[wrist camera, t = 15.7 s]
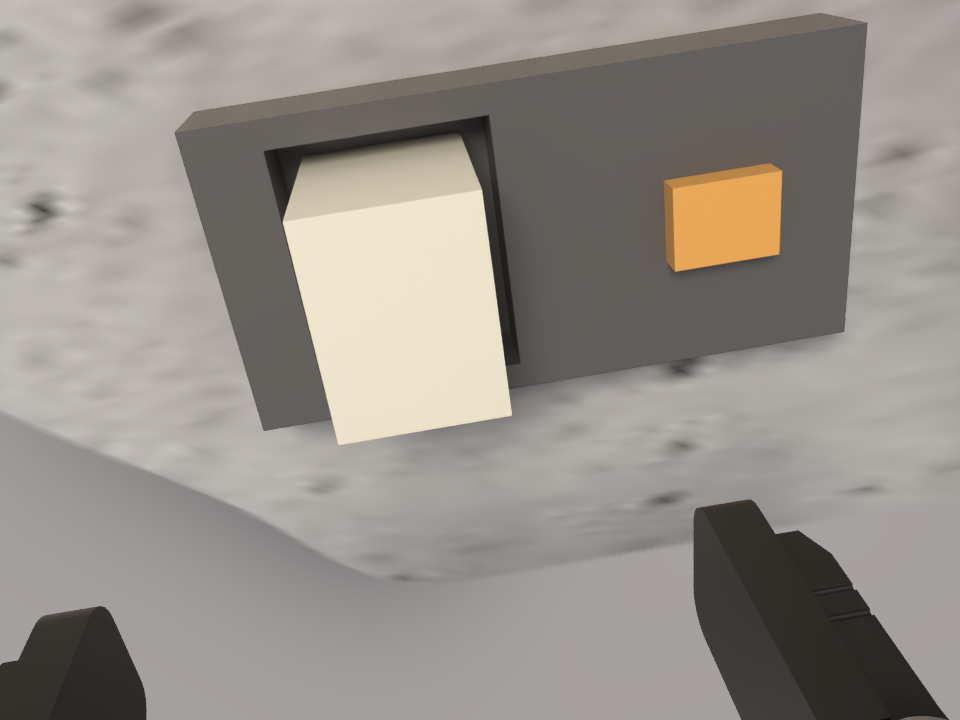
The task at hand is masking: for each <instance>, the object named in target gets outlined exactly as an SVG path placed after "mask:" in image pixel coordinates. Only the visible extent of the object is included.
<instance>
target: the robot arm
mask: <svg viewBox="0 0 960 720" xmlns="http://www.w3.org/2000/svg"><path fill="white" fill-rule="evenodd" d="M694 598H695V605H696V610H697V615H698V619H699V623H700V626H701V629H702V632H703V635H704V637H705V639H706V642H707V644H708V646H709V648H710V651H711V653H712V655H713V657H714V660H715V662H716V664H717V666H718V668H719V671H720V673H721V675H722V677H723V680H724V682H725V684H726V686H727V689H728V691H729V693H730V695H731V697H732V700H733V702H734V704H735V706H736V709H737V711H738V713H739V715H740V718H741V720H949V719H948V718H947V717H946V716H945V714H944V713H943V712H942V711H941V710H940V708H939V707H938V705H937V704H936V702H935V701H934V700H933V698H932V697H931V695H930V694H929V692H928V691H927V690H926V688H925V687H924V685H923V684H922V683H921V681H920V680H919V678H918V677H917V675H916V674H915V673H914V671H913V670H912V668H911V667H910V665H909V664H908V663H907V661H906V660H905V658H904V657H903V655H902V654H901V653H900V651H899V650H898V648H897V647H896V645H895V644H894V643H893V641H892V640H891V638H890V637H889V635H888V634H887V633H886V631H885V630H884V628H883V627H882V625H881V624H880V622H879V621H878V620H877V618H876V617H875V615H871V613H870V608H869V607H868V606H867V604H866V603H865V601H864V600H863V598H862V597H861V595H860V594H859V592H858V591H857V590H854V589H853V586H852V583H851V581H850V580H849V578H848V577H847V575H846V574H845V572H844V571H843V570H842V568H841V567H840V566H839V564H838V562H837V561H836V560H835V558H834V557H833V555H832V554H831V553H830V552H828V551H827V550H825V549H824V548H822V547H821V546H820V545H818V544H817V543H815V542H814V541H812V540H811V539H810V538H808V537H806V536H805V535H804V534H802V533H801V532H800V531H792V532H786V533H780V534H775V533H774V531H773V530H772V528H771V527H770V525H769V523H768V522H767V520H766V519H765V517H764V515H763V514H762V512H761V511H760V509H759V508H758V506H757V505H756V504H755V503H754V502H753V501H752V500H749V499H748V500H742V501H736V502H731V503H725V504H719V505H713V506H707V507H701V508H697V509H696V510H695V513H694ZM0 720H146V698H145V692H144V688H143V684H142V682H141V679H140V677H139V675H138V673H137V670H136V668H135V666H134V664H133V662H132V659H131V657H130V655H129V653H128V650H127V648H126V646H125V644H124V642H123V639H122V637H121V635H120V633H119V631H118V628H117V626H116V624H115V622H114V619H113V618H112V616H111V614H110V612H109V611H108V610H107V609H106V608H105V607H102V606H98V607H92V608H87V609H80V610H75V611H69V612H63V613H57V614H51V615H46V616H43V617H41V618H40V619H39V620H38V621H37V623H36V624H35V626H34V628H33V630H32V632H31V634H30V637H29V639H28V641H27V643H26V645H25V647H24V649H23V651H22V653H21V656H20V658H19V660H18V661H12V662H6V663H2V664H1V665H0Z"/></svg>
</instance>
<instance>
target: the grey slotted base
mask: <svg viewBox="0 0 960 720" xmlns="http://www.w3.org/2000/svg"><path fill="white" fill-rule="evenodd" d="M866 35H867V23H866V22H861V21H856V20H851V19H847V18H842V17H837V16H832V15H828V14H823V13H819V14H812V15H806V16H800V17H793V18H787V19H781V20H774V21H768V22H762V23H755V24H749V25H743V26H736V27H730V28H724V29H717V30H711V31H705V32H698V33H692V34H686V35H679V36H673V37H666V38H660V39H654V40H647V41H641V42H635V43H628V44H622V45H616V46H609V47H603V48H597V49H590V50H584V51H578V52H571V53H565V54H559V55H552V56H546V57H540V58H533V59H527V60H521V61H514V62H508V63H501V64H495V65H489V66H482V67H476V68H470V69H463V70H457V71H451V72H444V73H438V74H432V75H425V76H419V77H413V78H406V79H400V80H394V81H387V82H381V83H375V84H368V85H362V86H356V87H349V88H343V89H336V90H330V91H324V92H317V93H311V94H305V95H298V96H292V97H286V98H279V99H273V100H267V101H260V102H254V103H248V104H241V105H235V106H229V107H222V108H216V109H210V110H203V111H197V112H193V113H192V115H191V116H190V117H189V118H188V119H187V120H186V121H185V122H184V123H183V124H182V125H181V126H180V127H179V128H178V129H177V130H176V131H175V136H176V139H177V143H178V146H179V149H180V153H181V156H182V159H183V163H184V166H185V169H186V173H187V176H188V179H189V183H190V186H191V189H192V193H193V196H194V199H195V203H196V206H197V209H198V213H199V216H200V219H201V223H202V226H203V229H204V233H205V236H206V239H207V243H208V246H209V249H210V253H211V256H212V259H213V263H214V266H215V269H216V273H217V276H218V279H219V283H220V286H221V290H222V293H223V296H224V300H225V303H226V306H227V310H228V313H229V316H230V320H231V323H232V326H233V330H234V333H235V336H236V340H237V343H238V346H239V350H240V353H241V356H242V360H243V363H244V366H245V370H246V373H247V376H248V380H249V383H250V386H251V390H252V393H253V396H254V400H255V403H256V406H257V410H258V413H259V416H260V420H261V423H262V426H263V430H264V431H266V430H272V429H278V428H284V427H290V426H296V425H301V424H307V423H313V422H319V421H325V420H331V419H332V417H331V413H330V409H329V405H328V401H327V397H326V393H325V389H324V385H323V381H322V377H321V373H320V369H319V365H318V361H317V357H316V353H315V349H314V345H313V341H312V337H311V333H310V329H309V325H308V321H307V317H306V313H305V309H304V305H303V301H302V297H301V293H300V289H299V285H298V281H297V277H296V273H295V269H294V265H293V261H292V257H291V253H290V249H289V245H288V241H287V237H286V233H285V229H284V225H283V219H284V216H285V212H286V209H287V206H288V203H289V200H290V196H291V193H292V190H293V187H294V183H295V180H296V177H297V174H298V170H299V167H300V164H301V161H302V157H303V156H305V155H311V154H317V153H324V152H330V151H336V150H343V149H349V148H355V147H362V146H368V145H374V144H381V143H387V142H393V141H400V140H406V139H412V138H419V137H425V136H431V135H438V134H444V133H450V132H457V131H459V132H460V135H461V137H462V140H463V143H464V145H465V148H466V150H467V153H468V155H469V158H470V160H471V163H472V166H473V168H474V171H475V173H476V176H477V178H478V181H479V183H480V186H481V189H482V194H483V201H484V209H485V216H486V224H487V231H488V239H489V246H490V254H491V261H492V269H493V276H494V284H495V291H496V299H497V306H498V314H499V321H500V329H501V336H502V344H503V351H504V359H505V366H506V374H507V381H508V389H512V388H518V387H524V386H530V385H536V384H542V383H547V382H553V381H559V380H565V379H571V378H577V377H583V376H588V375H594V374H600V373H606V372H612V371H618V370H624V369H630V368H635V367H641V366H647V365H653V364H659V363H665V362H671V361H676V360H682V359H688V358H694V357H700V356H706V355H712V354H717V353H723V352H729V351H735V350H741V349H747V348H753V347H758V346H764V345H770V344H776V343H782V342H788V341H794V340H799V339H805V338H811V337H817V336H823V335H829V334H835V333H840V332H844V327H845V313H846V300H847V287H848V274H849V260H850V247H851V234H852V220H853V207H854V194H855V181H856V167H857V154H858V141H859V127H860V114H861V101H862V88H863V74H864V61H865V48H866Z"/></svg>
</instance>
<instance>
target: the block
mask: <svg viewBox="0 0 960 720" xmlns="http://www.w3.org/2000/svg"><path fill="white" fill-rule="evenodd" d="M283 225H284V229H285V233H286V237H287V241H288V245H289V249H290V253H291V257H292V261H293V265H294V269H295V273H296V277H297V281H298V285H299V289H300V293H301V297H302V301H303V305H304V309H305V313H306V317H307V321H308V325H309V329H310V333H311V337H312V341H313V345H314V349H315V353H316V357H317V361H318V365H319V369H320V373H321V377H322V381H323V385H324V389H325V393H326V397H327V401H328V405H329V409H330V413H331V417H332V421H333V425H334V429H335V433H336V437H337V441H338V445H342V444H348V443H354V442H360V441H366V440H372V439H378V438H384V437H389V436H395V435H401V434H407V433H413V432H419V431H425V430H431V429H436V428H442V427H448V426H454V425H460V424H466V423H472V422H478V421H484V420H489V419H495V418H501V417H507V416H512V411H511V404H510V396H509V389H508V381H507V374H506V366H505V359H504V351H503V344H502V336H501V329H500V321H499V314H498V306H497V299H496V291H495V284H494V276H493V269H492V261H491V254H490V246H489V239H488V231H487V224H486V216H485V209H484V201H483V194H482V189H481V186H480V183H479V181H478V178H477V176H476V173H475V171H474V168H473V166H472V163H471V160H470V158H469V155H468V153H467V150H466V148H465V145H464V143H463V140H462V137H461V135H460V132H459V131H457V132H450V133H444V134H438V135H431V136H425V137H419V138H412V139H406V140H400V141H393V142H387V143H381V144H374V145H368V146H362V147H355V148H349V149H343V150H336V151H330V152H324V153H317V154H311V155H305V156H303V157H302V161H301V164H300V167H299V170H298V174H297V177H296V180H295V183H294V187H293V190H292V193H291V196H290V200H289V203H288V206H287V209H286V212H285V216H284V219H283Z"/></svg>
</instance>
